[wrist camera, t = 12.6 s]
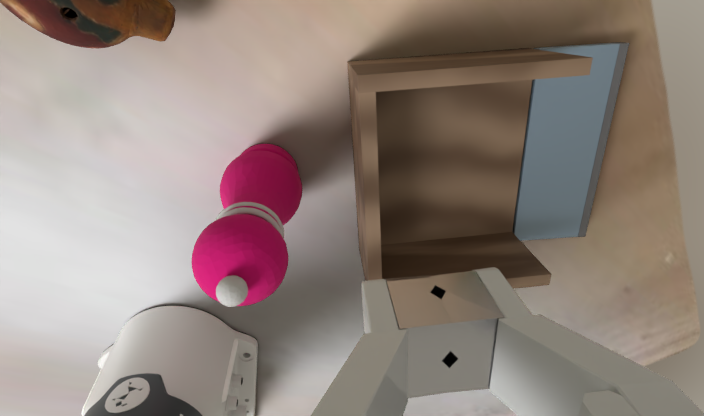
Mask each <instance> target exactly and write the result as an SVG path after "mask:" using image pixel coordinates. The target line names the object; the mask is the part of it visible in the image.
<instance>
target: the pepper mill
mask: <svg viewBox="0 0 704 416" xmlns="http://www.w3.org/2000/svg"><path fill="white" fill-rule="evenodd" d="M220 196H221V201H222V205H223V207H224V210H223V211H222V212H221V213H220V214H219V215H218V217H217V218H216V221H214V222H213V223H211V224H210V225H208V226H207V227H206V228H205V229H204V230H203V231H202V233H201V234H200V236H199V238H198V239H197V241H196V244H195V246H194V250H193V254H192V269H193V273H194V277H195V279H196V281H197V283H198V284H199V286H200V287H201V289H202V290H203V291H204V292H205V293H206V294H207V295H208V296H209V297H211V298H212V299H214V300H216V301H218V302H220V303H221V304H223V305H225V306H228V307H234V306H246V305H251V304H255V303H257V302H260V301H262V300H264V299H265V298H267V297H268V296H270V295H271V294H272V293H274V291H275V290H276V289H277V288H278V287H279V285H280V284H281V283H282V281H283V279H284V276H285V273H286V270H287V266H288V252H287V247H286V243H285V241H284V228H283V225H284V224H286V223H287V222H288V221H289V220H290V219H291V218H292V217H293V215H294V214H295V212H296V211H297V209H298V207H299V204H300V200H301V197H302V183H301V180H300V177H299V174H298V168H297V165H296V163H295V161H294V159H293V157H292V156H291V155H290V154H289V153H288V152H287V151H286V150H284V149H283V148H281V147H279V146H276V145H273V144H257V145H254V146H251V147H249V148H248V149H246V150H245V151H244V152H243V153H242V154H241V155H240V156H239V157H237V158H236V159H235V160H233V161H232V162H231V163H230V164H229V165H228V167H227V168H226V170H225V172H224V174H223V177H222V180H221V184H220Z"/></svg>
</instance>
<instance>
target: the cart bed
mask: <svg viewBox="0 0 704 416" xmlns="http://www.w3.org/2000/svg"><path fill="white" fill-rule="evenodd" d="M592 60H593V58H592V57H586V56H579V55H572V54H565V53H558V52H551V51H545V50H538V49H531V48H523V49H510V50H496V51H483V52H470V53H456V54H443V55H429V56H416V57H403V58H389V59H376V60H363V61H349V62H347V63H348V79H349V95H350V110H351V126H352V142H353V158H354V174H355V190H356V206H357V222H358V238H359V251H360V256H361V261H362V266H363V271H364V276H365V281H368V280H378V279H384V280H385V279H389V278H401V277H413V276H425V275H429V276H430V275H439V274H448V273H457V272H466V271H472V270H476V269H484V268H491V267H495V268H497V269H499V271H500V272H501V273H502V275H503V276H504V277H505V279H506V280H507V281H508V283H509V284H510V285H511V287H512V288H513V289H514V288H523V287H532V286H542V285H549V283H550V277H551V273H550V272H549V271H548V270H547V269H546V268H545V267H544V266H543V265H542V264H541V263H540V262H539V260H538V259H537V258H536V257H535V256H534V255H533V254H532V253H531V252H530V251H529V250H528V249H527V247H526V246H525V245H524V244H523V243H522V242H521V241H520V240H519V239H518V238H517V237H516V236H515V234H514V233H513V232H512V229H513V222H514V214H515V207H516V199H517V192H518V184H519V177H520V169H521V162H522V154H523V147H524V139H525V131H526V124H527V116H528V109H529V101H530V94H531V86H532V80H534V79H546V78H559V77H572V76H584V75H590V70H591V65H592Z"/></svg>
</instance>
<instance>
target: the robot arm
mask: <svg viewBox="0 0 704 416" xmlns="http://www.w3.org/2000/svg"><path fill="white" fill-rule="evenodd" d="M361 288H362V304H363V321H364V332H365V334H363V336H362V337H361V339H360V341H359V342H358V344H357V345H356V347H355V348H354V350H353V351H352V353H351V354H350V356H349V358H348V359H347V361H346V362H345V364H344V365H343V367H342V368H341V370H340V371H339V373H338V374H337V376H336V378H335V379H334V381H333V382H332V384H331V385H330V387H329V388H328V390H327V391H326V393H325V395H324V396H323V398H322V399H321V401H320V402H319V404H318V405H317V407H316V408H315V410H314V411H313V413H312V415H311V416H403V413H404V411H405V408H406V405H407V402H408V398H413V397H420V396H427V395H434V394H440V393H447V392H458V391H469V390H480V389H489V391H490V392H491V393H492V394H494V395H495V396H496V397H497V398H498V399H499V400H500V401H502V402H503V403H504V404H505V405H506V406H507V407H508V408H509V409H511V410H512V411H513V412H514V413H515V414H516V415H517V416H704V413H703V412H702V411H701V410H700V409H699V408H698V407H697V406H696V405H695V404H694V403H693V402H692V400H690V398H688V397H687V395H685V394H684V392H683V391H682V390H681V389H680V388H679V387H678V386H677V385H676V384H675V383H674V382H673V381H671V380H669V379H667V378H665V377H663V376H661V375H659V374H657V373H655V372H653V371H652V370H650V369H647V368H645V367H644V366H642V365H640V364H638V363H636V362H634V361H632V360H630V359H628V358H626V357H624V356H622V355H620V354H618V353H616V352H614V351H612V350H610V349H608V348H606V347H604V346H602V345H600V344H598V343H596V342H594V341H592V340H590V339H588V338H586V337H584V336H582V335H580V334H578V333H576V332H574V331H572V330H570V329H568V328H566V327H564V326H562V325H560V324H558V323H556V322H554V321H552V320H550V319H548V318H546V317H544V316H542V315H540V314H539V315H532V313H531V312H530V311H529V309H528V308H527V307H526V305H525V304H524V303H523V301H522V300H521V299H520V297H519V296H518V295H517V293H516V292H515V291H514V289H513V288H512V287H511V285H510V284H509V283H508V281H507V280H506V279H505V277H504V276H503V275H502V273H501V272H500V271H499V269H497V268H495V267H491V268H484V269H476V270H472V271H466V272H457V273H448V274H439V275H430V276H429V275H425V276H413V277H401V278H389V279H385V280H384V279H378V280H368V281H362V285H361ZM247 353H248V354H247ZM257 354H258V343H257V341H256V339H254V338H253V337H251V336H249V335H246V334H243V333H240V332H237V331H235V330H233V329H231V328H230V327H229V326H227V325H226V324H225V323H224V322H222V321H221V320H220V319H218V318H216V317H215V316H213V315H211V314H209V313H207V312H204V311H201V310H198V309H194V308H190V307H184V306H162V307H156V308H152V309H149V310H146V311H143V312H141V313H139V314H137V315H135V316H134V317H132V318H131V319H130V320H129V321H128V322H127V323H126V324H125V325H124V326H123V328H122V329H121V331H120V333H119V335H118V338H117V340H116V342H115V343H114V344H113V345H112V346H110V347H109V348H108V349H106V350H105V351H104V352H103V353H102V354H101V356H100V358H99V360H98V366H99V368H100V369H101V371H100V373H99V375H98V377H97V379H96V381H95V383H94V385H93V388H92V390H91V392H90V394H89V396H88V398H87V400H86V403H85V405H84V407H83V410H82V416H255V402H256V378H257Z"/></svg>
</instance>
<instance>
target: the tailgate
mask: <svg viewBox="0 0 704 416" xmlns="http://www.w3.org/2000/svg"><path fill="white" fill-rule="evenodd" d="M628 46H629V43H624V42H615V43H601V44H586V45H571V46H557V47H542V48H534V49H538V50H545V51H551V52H558V53H565V54H572V55H579V56H586V57H592V58H593V60H592V65H591V70H590V75H584V76H572V77H559V78H546V79H534V80H532V86H531V94H530V101H529V109H528V116H527V124H526V131H525V139H524V147H523V154H522V162H521V169H520V177H519V184H518V192H517V199H516V207H515V214H514V222H513V229H512V232H513V233H514V234H515V236H516V237H517V238H518V239H519V240H520V241H521V240H536V239H551V238H566V237H585V236H586V231H587V227H588V222H589V218H590V214H591V209H592V205H593V200H594V196H595V192H596V187H597V183H598V178H599V174H600V170H601V165H602V161H603V156H604V152H605V147H606V143H607V139H608V134H609V130H610V125H611V121H612V117H613V112H614V108H615V103H616V99H617V95H618V90H619V86H620V81H621V77H622V73H623V68H624V64H625V59H626V55H627V51H628Z"/></svg>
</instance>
